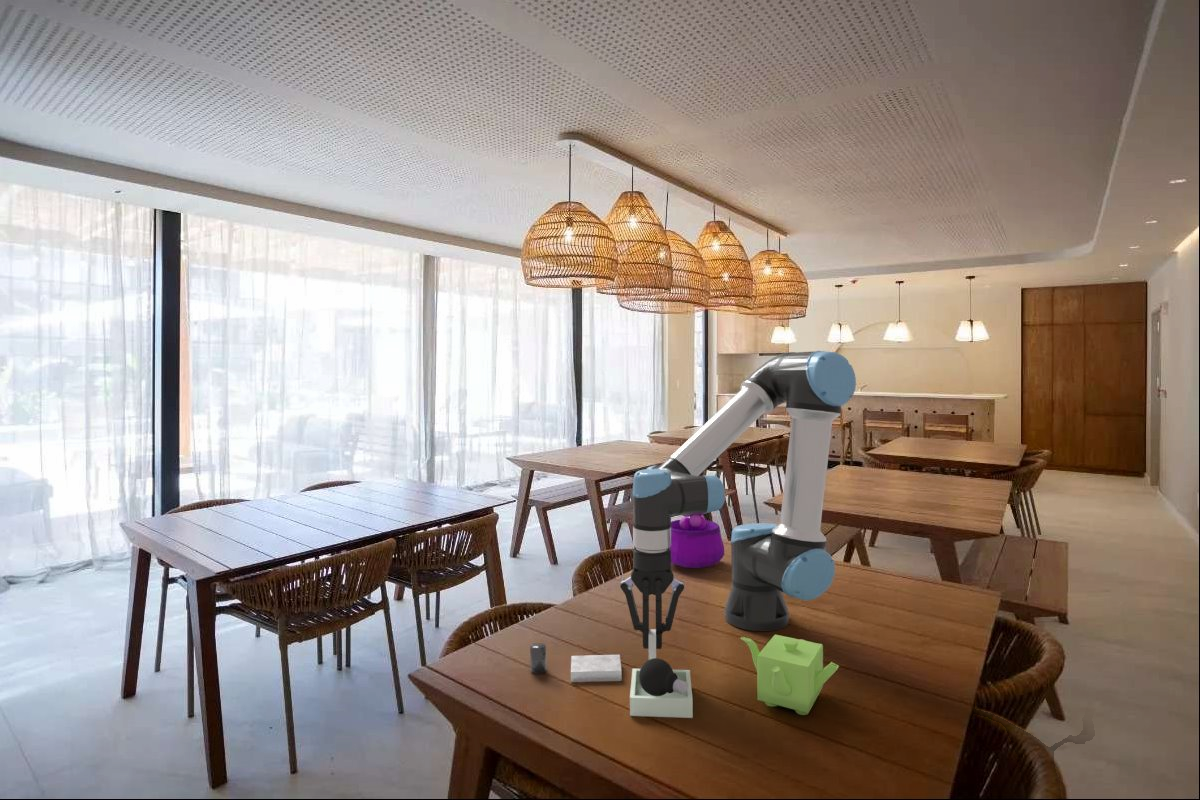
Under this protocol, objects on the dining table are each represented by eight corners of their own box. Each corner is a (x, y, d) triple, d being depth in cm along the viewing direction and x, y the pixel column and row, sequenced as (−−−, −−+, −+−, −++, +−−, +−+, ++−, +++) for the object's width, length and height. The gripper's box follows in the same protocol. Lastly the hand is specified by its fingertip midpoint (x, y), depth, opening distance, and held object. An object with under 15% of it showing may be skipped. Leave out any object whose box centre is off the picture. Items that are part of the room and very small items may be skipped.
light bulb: (681, 672, 112) (635, 654, 119) (675, 710, 111) (629, 690, 118) (700, 669, 117) (655, 652, 124) (694, 706, 116) (649, 687, 123)
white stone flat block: (619, 666, 134) (619, 654, 134) (621, 682, 127) (621, 670, 127) (571, 667, 134) (571, 655, 134) (570, 684, 127) (570, 671, 127)
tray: (689, 686, 124) (689, 670, 124) (692, 717, 113) (692, 699, 113) (632, 685, 125) (632, 668, 125) (630, 715, 114) (629, 697, 114)
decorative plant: (660, 573, 192) (659, 473, 190) (664, 555, 210) (663, 463, 208) (725, 575, 189) (724, 474, 187) (723, 557, 207) (723, 464, 205)
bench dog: (547, 666, 133) (547, 643, 133) (544, 674, 130) (544, 649, 130) (532, 666, 134) (531, 642, 133) (529, 673, 131) (528, 649, 130)
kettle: (773, 728, 110) (773, 663, 109) (735, 688, 123) (734, 631, 123) (850, 714, 113) (850, 652, 113) (804, 677, 127) (804, 621, 127)
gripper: (684, 543, 132) (684, 656, 133) (620, 542, 133) (621, 654, 134) (685, 553, 124) (685, 673, 125) (618, 552, 125) (618, 671, 126)
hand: (652, 663), depth 130 cm, fingers closed
